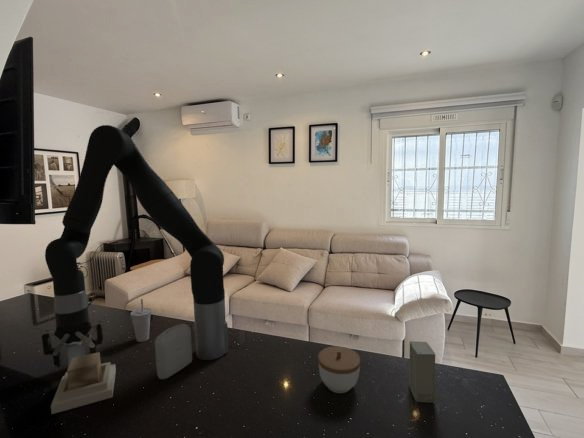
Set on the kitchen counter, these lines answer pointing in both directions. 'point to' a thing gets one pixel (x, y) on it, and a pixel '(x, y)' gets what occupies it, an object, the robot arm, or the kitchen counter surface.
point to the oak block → (84, 371)
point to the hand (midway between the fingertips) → (76, 362)
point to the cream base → (84, 391)
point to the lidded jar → (339, 368)
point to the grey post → (75, 350)
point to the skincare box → (422, 371)
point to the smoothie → (141, 322)
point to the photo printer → (173, 350)
